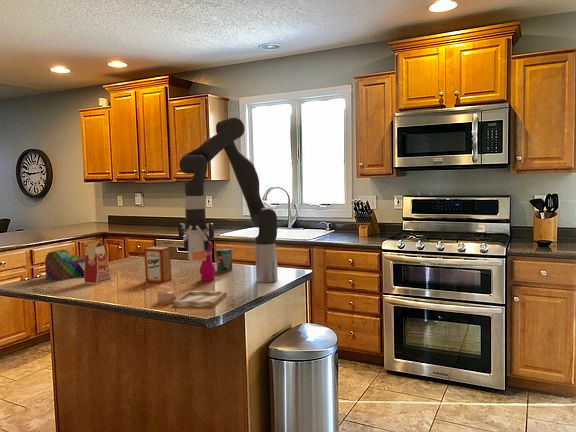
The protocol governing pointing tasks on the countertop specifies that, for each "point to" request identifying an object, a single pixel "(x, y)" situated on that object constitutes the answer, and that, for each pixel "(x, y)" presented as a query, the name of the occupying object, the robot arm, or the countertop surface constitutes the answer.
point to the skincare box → (196, 246)
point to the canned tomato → (224, 259)
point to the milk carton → (96, 264)
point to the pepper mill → (207, 266)
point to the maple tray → (200, 299)
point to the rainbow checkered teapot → (64, 265)
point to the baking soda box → (157, 264)
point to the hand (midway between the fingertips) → (196, 250)
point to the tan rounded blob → (166, 296)
